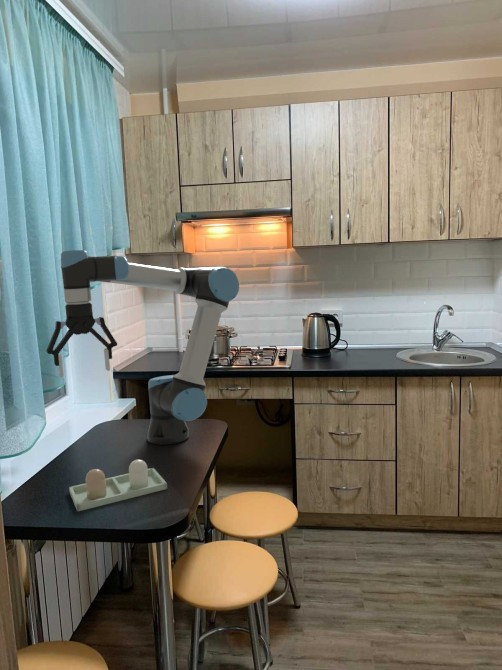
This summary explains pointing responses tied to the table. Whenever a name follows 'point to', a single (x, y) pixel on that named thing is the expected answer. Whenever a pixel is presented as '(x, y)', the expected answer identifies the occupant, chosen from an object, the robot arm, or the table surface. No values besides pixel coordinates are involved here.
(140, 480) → the egg white
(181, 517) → the table surface
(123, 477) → the green divided tray
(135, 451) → the table surface
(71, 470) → the table surface
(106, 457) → the table surface
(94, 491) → the egg brown
